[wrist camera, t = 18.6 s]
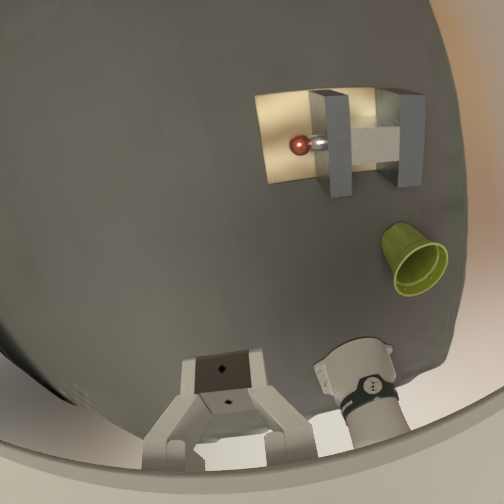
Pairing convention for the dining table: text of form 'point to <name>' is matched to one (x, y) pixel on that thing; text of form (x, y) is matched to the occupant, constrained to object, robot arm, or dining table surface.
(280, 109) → the vise board
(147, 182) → the dining table surface
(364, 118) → the block
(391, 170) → the fixed jaw
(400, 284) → the plant pot
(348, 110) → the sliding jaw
